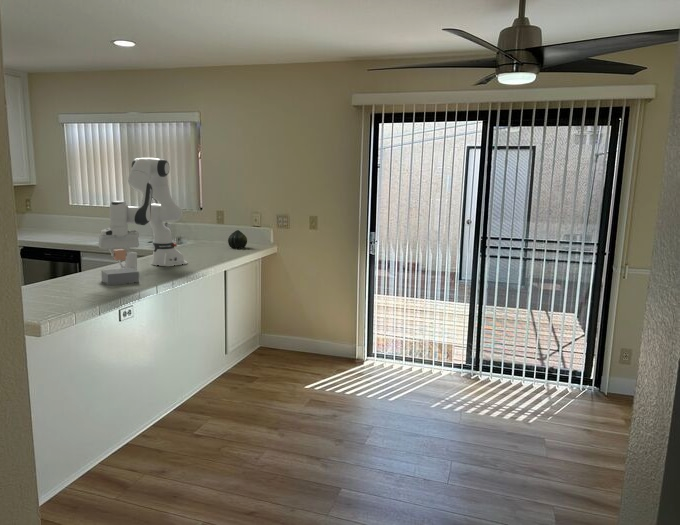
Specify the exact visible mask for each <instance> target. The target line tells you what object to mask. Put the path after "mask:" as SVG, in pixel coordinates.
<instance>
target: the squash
mask: <svg viewBox="0 0 680 525" xmlns="http://www.w3.org/2000/svg"><path fill="white" fill-rule="evenodd" d="M227 239H228V240H227V244H228V246H229V247H230V248H231V249H236V248H237V249H239V250H241V249H244V248H245V247H246V246H247V244H248V238H247V236H246V235H245V234H244V233H243V232H242V231H241V230H239V229H237V230H235V231H234V232H232V233H231V234H230V235H229V236H228V238H227ZM240 248H241V249H240Z"/></svg>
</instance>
